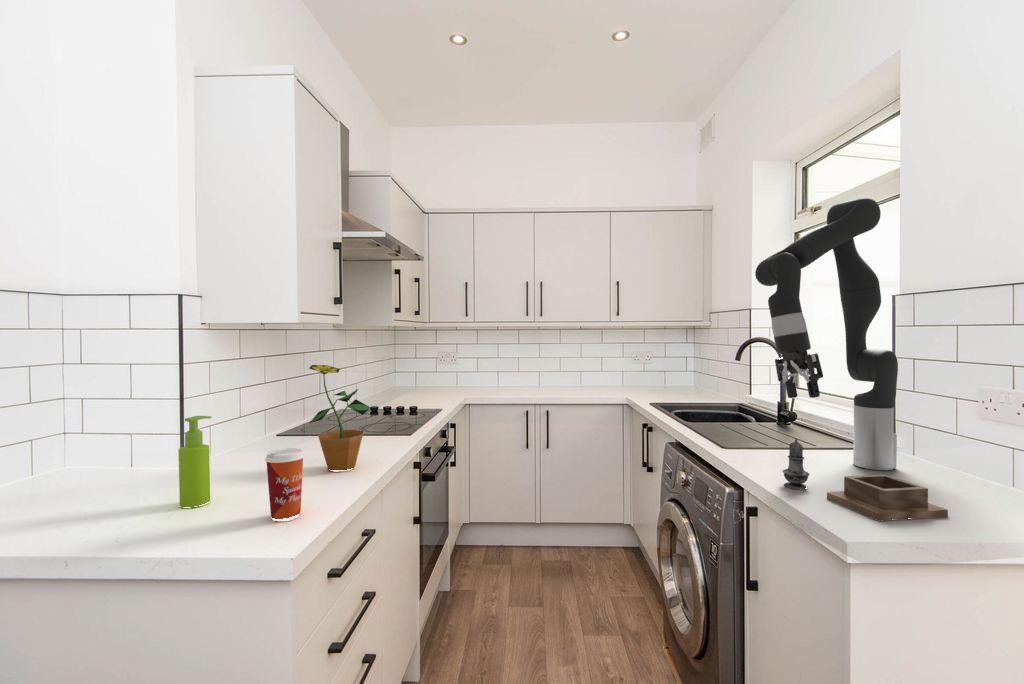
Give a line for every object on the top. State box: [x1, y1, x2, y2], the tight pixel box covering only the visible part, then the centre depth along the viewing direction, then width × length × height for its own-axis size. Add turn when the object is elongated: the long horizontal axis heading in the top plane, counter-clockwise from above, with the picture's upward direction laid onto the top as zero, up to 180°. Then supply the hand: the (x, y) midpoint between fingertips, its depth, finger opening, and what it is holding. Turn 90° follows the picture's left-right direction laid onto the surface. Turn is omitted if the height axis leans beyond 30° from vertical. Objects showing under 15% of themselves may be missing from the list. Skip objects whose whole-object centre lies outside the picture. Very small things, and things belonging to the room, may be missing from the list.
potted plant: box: [308, 364, 371, 470], centre depth 142 cm, size 18×19×30 cm
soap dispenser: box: [178, 415, 212, 507], centre depth 114 cm, size 6×7×20 cm
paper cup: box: [264, 447, 305, 519], centre depth 106 cm, size 8×8×14 cm
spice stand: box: [826, 473, 949, 522], centre depth 109 cm, size 16×14×6 cm
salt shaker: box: [782, 438, 810, 490], centre depth 124 cm, size 6×6×12 cm
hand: (803, 397), depth 123 cm, fingers open, 8 cm apart
